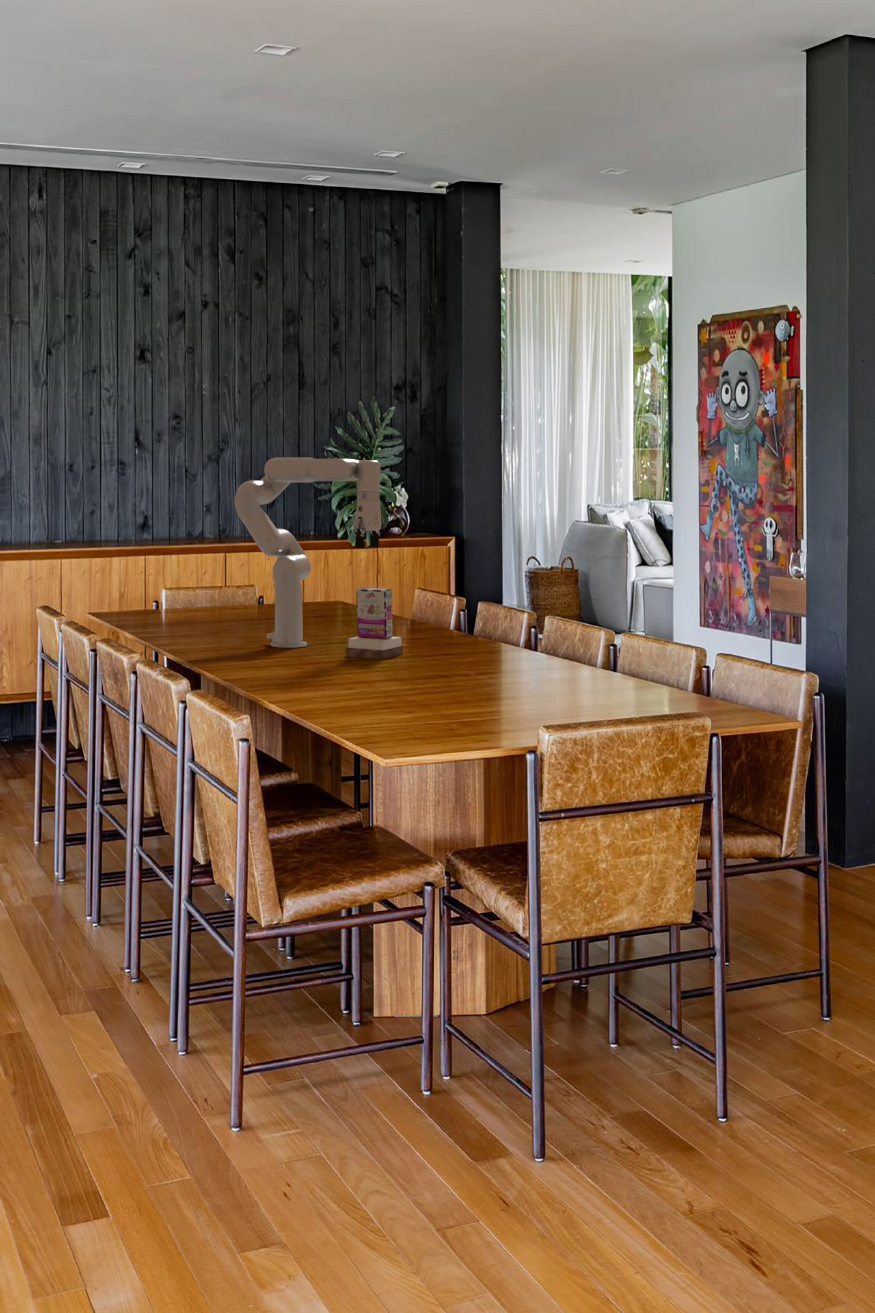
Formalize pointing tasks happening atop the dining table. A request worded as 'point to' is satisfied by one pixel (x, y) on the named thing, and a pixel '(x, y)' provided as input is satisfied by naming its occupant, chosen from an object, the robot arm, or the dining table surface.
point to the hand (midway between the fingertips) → (367, 547)
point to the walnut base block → (374, 653)
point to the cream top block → (374, 643)
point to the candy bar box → (374, 613)
